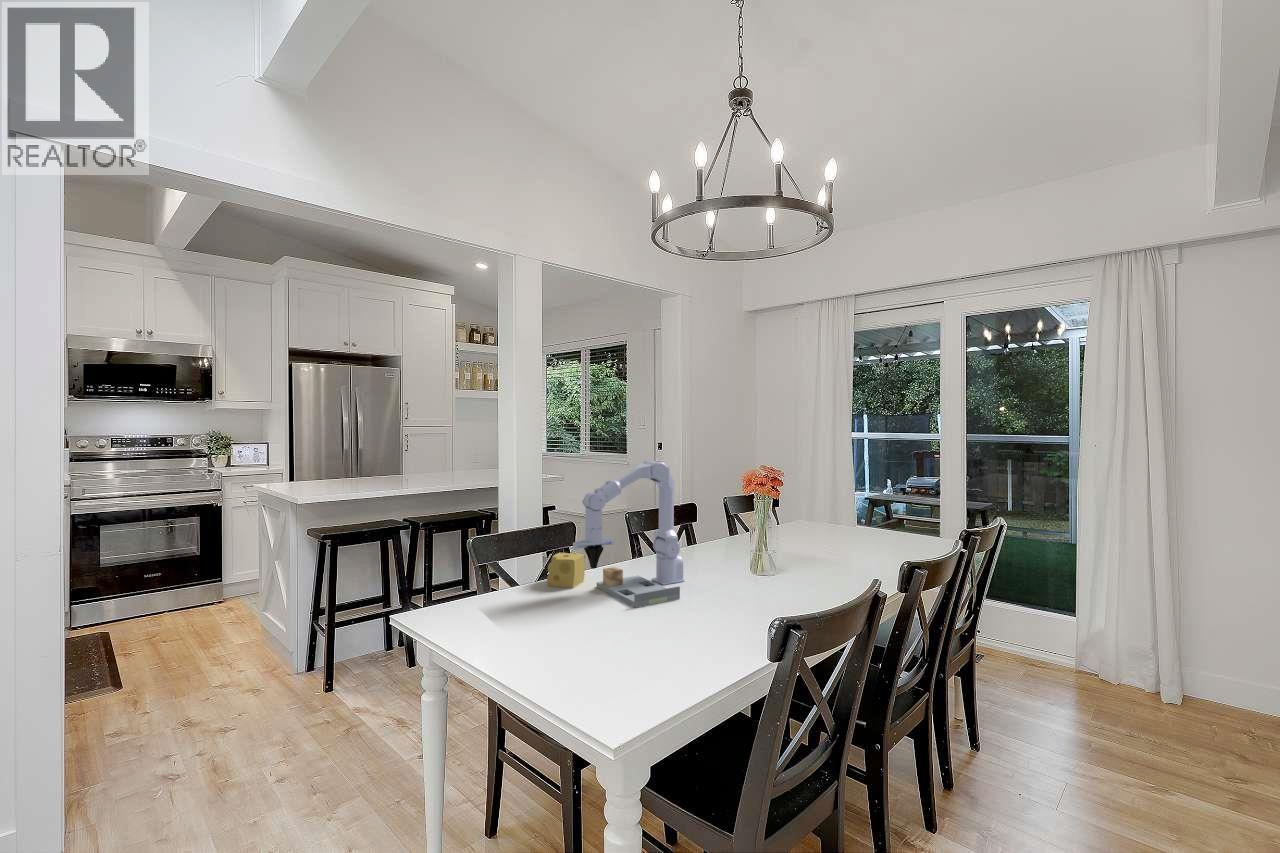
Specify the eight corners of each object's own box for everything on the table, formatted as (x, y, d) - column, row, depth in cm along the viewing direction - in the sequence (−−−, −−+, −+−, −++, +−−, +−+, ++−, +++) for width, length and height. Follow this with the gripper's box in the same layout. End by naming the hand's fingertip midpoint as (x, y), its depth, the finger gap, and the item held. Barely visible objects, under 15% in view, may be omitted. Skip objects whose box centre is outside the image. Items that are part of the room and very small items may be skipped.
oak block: (615, 581, 207) (615, 566, 207) (622, 584, 203) (622, 570, 203) (603, 583, 204) (603, 568, 204) (610, 586, 200) (610, 572, 200)
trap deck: (638, 579, 214) (638, 569, 214) (679, 598, 192) (679, 586, 192) (596, 586, 205) (596, 575, 205) (635, 607, 183) (635, 594, 183)
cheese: (546, 586, 206) (546, 557, 206) (559, 578, 216) (559, 551, 216) (574, 589, 203) (574, 560, 203) (586, 580, 213) (586, 553, 213)
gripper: (606, 524, 207) (606, 562, 207) (569, 527, 199) (568, 567, 199) (616, 527, 201) (616, 566, 201) (578, 531, 193) (578, 572, 193)
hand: (593, 567), depth 200 cm, fingers closed
